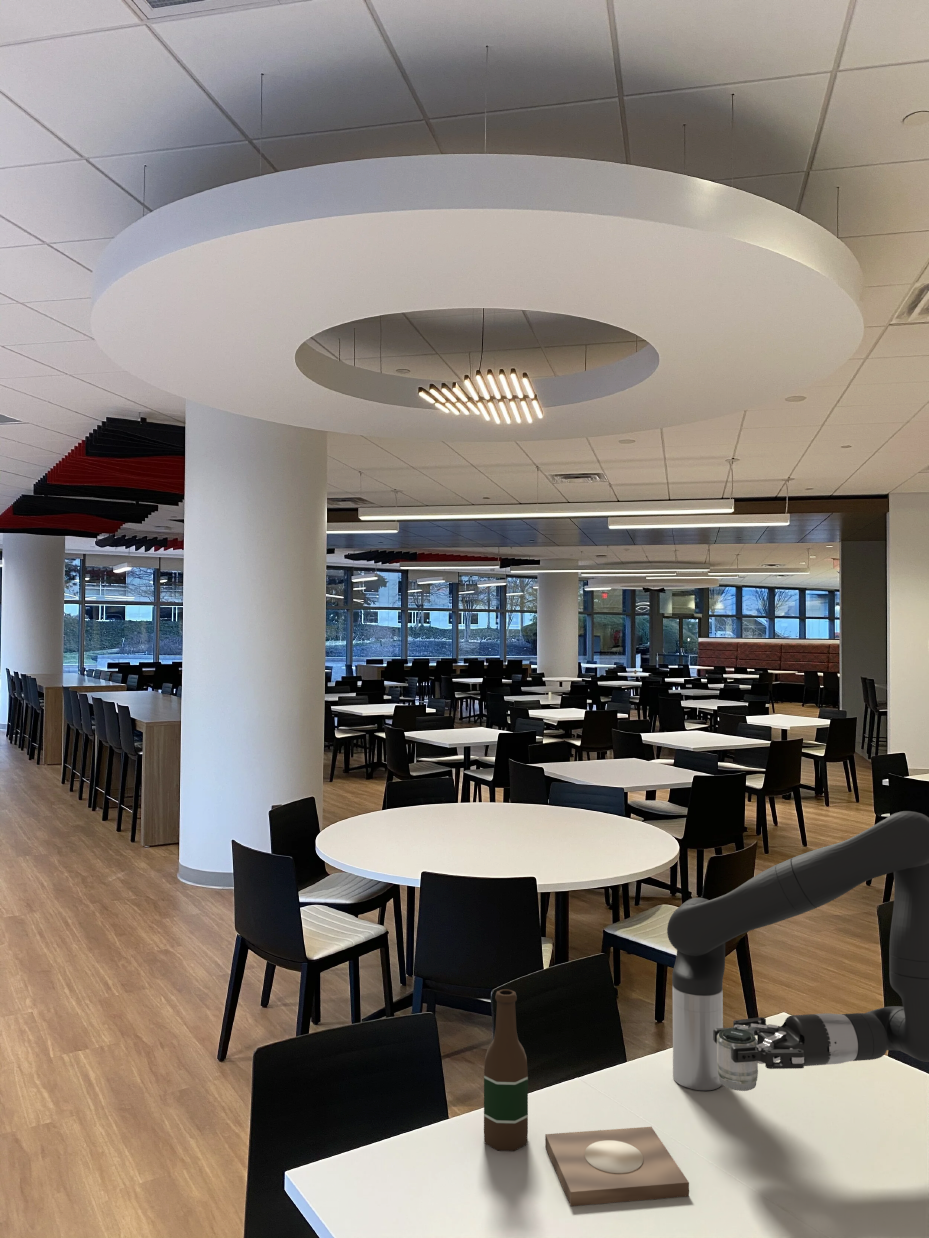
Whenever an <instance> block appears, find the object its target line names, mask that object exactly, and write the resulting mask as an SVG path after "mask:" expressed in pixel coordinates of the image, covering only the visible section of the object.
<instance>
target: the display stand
mask: <svg viewBox="0 0 929 1238" xmlns="http://www.w3.org/2000/svg"><path fill="white" fill-rule="evenodd" d="M544 1136H545V1137H544V1138H545V1139H544V1140H545V1143H544V1145H545V1149H546V1151H547V1155H548V1156H549V1158H550V1161H551V1163H552V1166H553V1168H554V1170H555V1172H556V1174H557V1176H558V1179H559V1183H560V1185H561V1187H562V1189H563V1191H564V1193H565V1196H566V1198H567V1200H568V1203H569V1206H570V1207H576V1206H587V1205H600V1204H610V1203H611V1204H613V1203H626V1202H636V1201H648V1200H650V1201H651V1200H658V1199H659V1200H660V1199H672V1198H673V1199H674V1198H681V1197H682V1198H684V1197H690V1182H689V1180H688V1179H687V1177H686V1176H685V1174H684V1173H683V1171H682V1170H681V1168H680V1167H679V1166H678V1164H677V1162H676V1161H675V1160H674V1158H673V1156H672V1155H671V1153H670V1152H669V1151H668V1149H667V1147H666V1146H665V1145H664V1143H663V1141H662V1140H661V1138H660V1137H659V1135H658V1134H657V1132H656V1131H655V1130H654V1128H653V1127H652V1126H641V1127H625V1128H615V1129H614V1128H613V1129H602V1130H601V1129H600V1130H587V1131H573V1132H570V1131H569V1132H559V1133H558V1132H557V1133H545V1135H544Z"/></svg>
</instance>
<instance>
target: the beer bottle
mask: <svg viewBox="0 0 929 1238" xmlns="http://www.w3.org/2000/svg"><path fill="white" fill-rule="evenodd" d="M517 997H518V996H517V993H516V991H514V990H512V989H503V988H502V989H499V990H497V991H496V993H495V999H494V1000H495V1001H496V1013H495V1014H496V1016H495V1017H496V1018H495V1030H494V1037H493V1040H492V1041H491V1042H490V1044H489V1045H488V1048H487V1050H486V1053H485V1055H484V1056H485V1057H484V1068H483V1139H484V1144H485V1145H488V1146H489V1147H490V1148H492V1149H494V1150H496V1151H505V1152H507V1151H508V1152H515V1151H517V1150H519V1149H521V1148H523V1147H525V1146H527V1145H528V1144H527V1143H528V1133H529V1125H528V1124H529V1105H528V1104H529V1097H528V1096H529V1073H528V1059H527V1054H526V1051H525V1049H524V1047H523V1045H522V1043H521V1042H520V1041H519V1037H518V1033H517V1032H518V1031H517V1016H516V1002H517V1000H518V998H517Z"/></svg>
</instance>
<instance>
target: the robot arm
mask: <svg viewBox="0 0 929 1238" xmlns="http://www.w3.org/2000/svg"><path fill="white" fill-rule="evenodd" d="M891 873H893V881H894V891H893V892H894V893H893V895H894V898H893V899H894V900H893V909H892V917H891V924H890V933H889V952H888V953H889V968H888V969H889V983H890V987H891V988H892V989H893V991H895V992H896V993H897V994H898V995H899V997H900V998H901V1002H902V1006H899V1005H898V1006H897V1005H896V1006H894V1005H893V1006H891V1005H890V1006H883V1007H879V1008H876V1009H872V1010H870V1011H866V1012H865V1013H864V1012H856V1013H831V1012H830V1013H825V1012H824V1013H810V1014H809V1013H808V1014H798V1015H797V1014H793V1015H788V1016H787V1017H786V1018H785V1020H784V1023H782V1025H781V1026H780V1025H777V1024H767V1019H766V1018H765V1017H753V1018H742V1019H735V1020H733V1026H732V1027H731V1028H736V1029H742V1030H746V1031H748V1032H750V1033H752V1034H753V1035H754V1036H755V1037H756V1039H757V1042H758V1044H757V1046H756V1048H755V1046H754V1045H750V1046H734V1047H732V1048H731V1059H732V1060H733V1061H734V1062H735V1063H739V1062H754V1061H756V1062H757V1063H758V1065H759V1064H761V1065H765V1066H764V1067H765V1068H766V1069H767V1070H781V1069H782V1070H785V1069H787V1070H788V1069H789V1070H790V1069H795V1070H796V1069H798V1070H799V1069H804V1068H805V1067H809V1066H811V1067H813V1066H825V1065H840V1064H845V1063H848V1062H857V1061H859V1062H860V1061H871V1060H876V1059H877V1060H878V1059H880V1058H882V1057H884V1055H886V1053H887V1051H898V1052H901V1053H904V1054H906V1055H907V1056H910V1057H911V1058H914V1059H915V1060H917V1061H920V1062H925V1063H929V816H928V815H926V814H923V813H921V812H917V811H911V810H903V811H899V812H895V813H892V814H891V815H889V816H887V817H886V818H885V819H882V820H880V821H879V822H877V823H876V824H874V825H872V826H871V827H868V828H867V829H865V830H863V831H862V832H860V833H858V834H855V835H854V836H852V837H850V838H848V839H846V840H843V841H840V842H837V843H833V844H829V845H826V846H824V847H823V846H822V847H820V848H815V849H813V850H810V851H807V852H805V853H802V854H799V855H796V856H794V857H792V858H789V859H787V860H784V861H782V862H780V863H777V864H775V865H772V866H771V867H769V868H767V869H765V870H763V871H762V872H759V873H758V874H756V875H755V876H753V877H752V878H750V879H748V880H747V881H745V882H743V883H742V884H741V885H739V886H738V887H736V888H735V889H732V890H731V891H729V892H727V893H726V894H723V895H721V896H718V897H716V898H712V899H710V900H709V899H707V898H704V897H693V898H689V899H688V900H686V901H685V902H683V903H682V904H681V905H680V906H679V907H677V909H675V911H673V913H672V914H671V915H670V918H669V921H668V923H667V929H666V930H667V931H666V932H667V933H666V934H667V937H668V941H669V942H670V944H671V946H672V947H673V948H674V949H675V950H676V956H675V962H674V966H673V968H672V1078H673V1080H674V1081H675V1082H676V1083H677V1084H679V1085H680V1086H682V1087H685V1088H687V1089H691V1090H696V1091H711V1090H712V1091H713V1090H716V1089H718V1088H720V1087H722V1086H723V1085H722V1084H721V1083H720V1080H719V1076H718V1069H717V1035H718V1033H719V1032H720V1031H722V1030H724V1029H729V1028H730V1027H724V1017H723V1016H724V1011H723V1010H724V1009H723V1008H724V1007H723V1005H724V1004H723V1002H724V999H723V995H724V994H723V993H724V992H723V983H724V982H723V981H724V980H723V979H724V976H725V970H726V969H725V968H726V943H727V942H729V941H732V940H733V939H735V938H737V937H738V936H740V935H743V934H745V933H748V932H750V931H753V930H757V929H760V928H764V927H766V926H769V925H770V926H771V925H773V924H776V923H779V922H782V921H785V920H788V919H791V918H794V917H796V916H800V915H802V914H805V913H807V912H810V911H812V910H815V909H817V908H820V907H823V906H824V905H826V904H828V903H831V902H832V901H834V900H836V899H838V898H840V897H842V896H843V895H846V894H847V893H849V892H850V891H851V890H853V889H854V888H856V887H858V886H859V885H861V884H863V883H865V882H868V881H870V880H874V879H875V878H879V877H882V876H885V875H888V874H891Z"/></svg>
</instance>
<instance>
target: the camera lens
mask: <svg viewBox="0 0 929 1238" xmlns="http://www.w3.org/2000/svg"><path fill="white" fill-rule="evenodd" d="M728 1028H729V1029H724V1030H722V1031H720V1032H719V1033H718V1035H717V1069H718V1076H719V1080H720V1083H721V1084H722V1086H724V1087H725V1088H727V1089H730V1090H733V1091H736V1092H737V1091H738V1092H739V1091H740V1092H741V1091H742V1092H745V1091H746V1092H747V1091H750V1090H751V1091H752V1090H753V1089H755V1088H756V1086H757V1081H758V1077H759V1076H758V1075H759V1069H758V1067H759V1066H758V1065H759V1063H757V1062H756V1061H754V1062H739V1063H735V1062H734V1061H733V1060H732V1059H731V1048H732V1047H734V1046H750V1045H754V1046H755V1048H756V1046H757V1044H758V1042H757V1036H754V1035H753V1034H752V1033H750V1032H748V1031H746V1030H742V1029H736V1028H732V1027H728Z"/></svg>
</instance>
